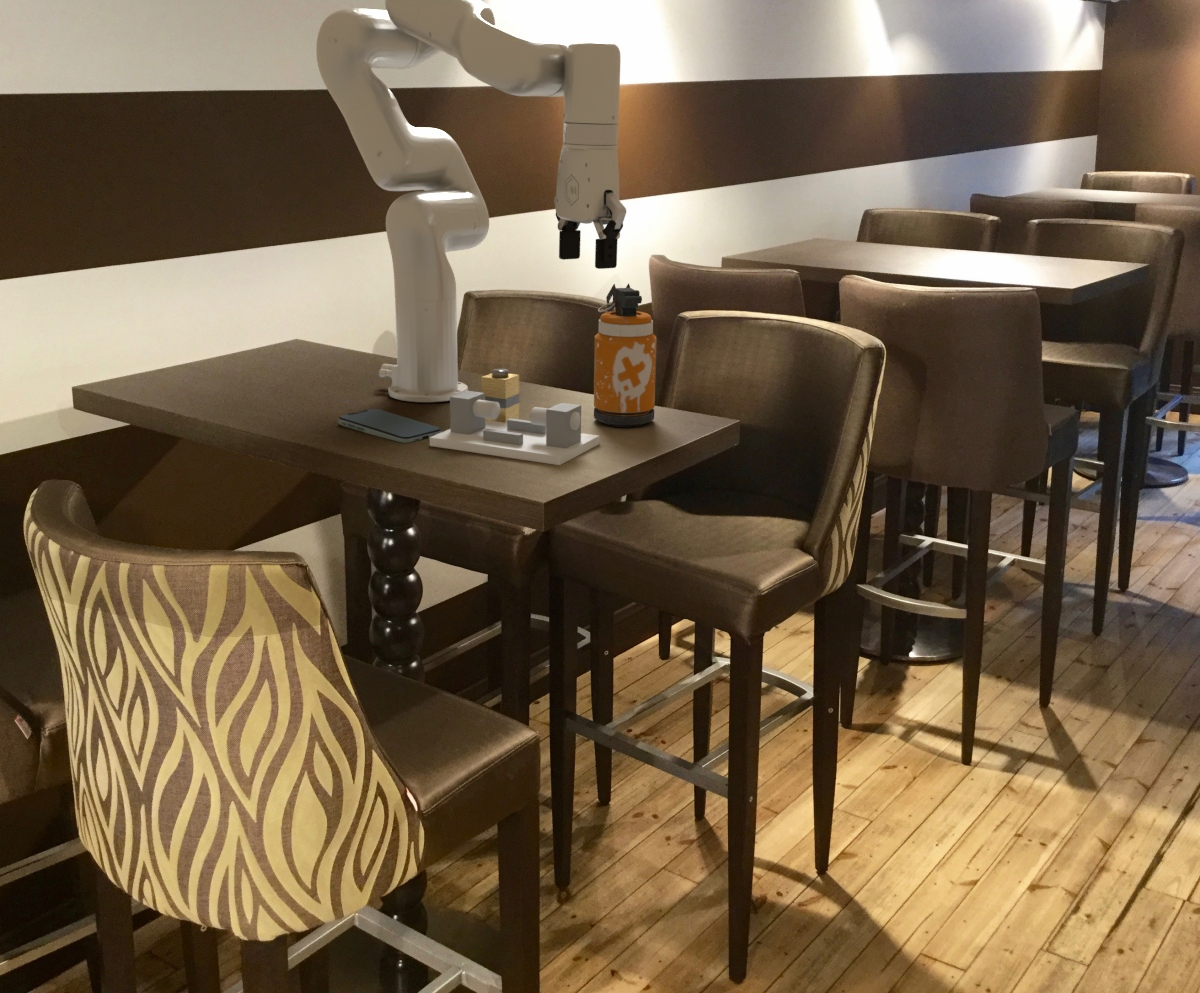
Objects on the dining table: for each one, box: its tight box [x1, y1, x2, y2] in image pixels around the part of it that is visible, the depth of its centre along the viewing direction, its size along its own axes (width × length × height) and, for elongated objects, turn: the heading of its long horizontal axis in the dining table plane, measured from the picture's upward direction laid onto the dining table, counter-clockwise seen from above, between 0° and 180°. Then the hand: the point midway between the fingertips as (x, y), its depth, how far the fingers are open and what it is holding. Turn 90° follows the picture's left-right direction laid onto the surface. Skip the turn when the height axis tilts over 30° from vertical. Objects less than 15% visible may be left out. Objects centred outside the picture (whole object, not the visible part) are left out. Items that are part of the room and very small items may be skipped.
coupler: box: [480, 368, 520, 423], centre depth 186 cm, size 4×4×8 cm
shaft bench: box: [429, 390, 601, 466], centre depth 175 cm, size 20×12×6 cm, turn 64°
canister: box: [593, 283, 657, 428], centre depth 187 cm, size 9×11×20 cm
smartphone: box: [338, 408, 443, 444], centre depth 183 cm, size 8×2×15 cm
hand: (587, 263), depth 179 cm, fingers open, 9 cm apart
